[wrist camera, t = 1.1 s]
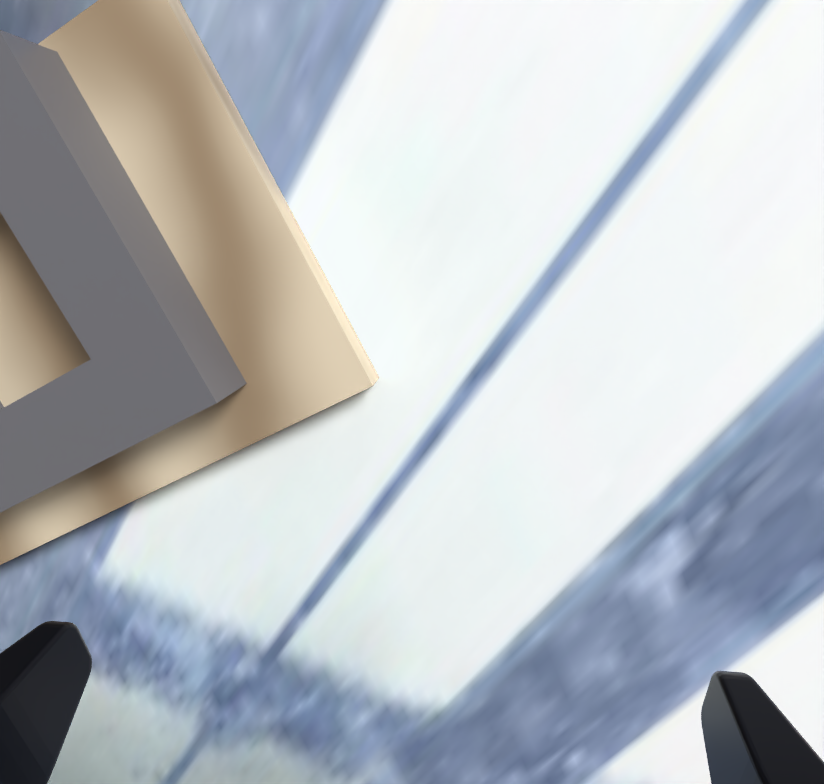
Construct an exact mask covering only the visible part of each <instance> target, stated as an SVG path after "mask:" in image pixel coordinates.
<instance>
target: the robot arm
mask: <svg viewBox="0 0 824 784" xmlns="http://www.w3.org/2000/svg"><path fill="white" fill-rule="evenodd" d="M91 668H92V658H91V654H90V652H89V650H88V648H87V646H86V644H85V642H84V640H83V638H82V636H81V634H80V632H79V630H78V628H77V626H76V625H75V624H73V623H70V622H57V621H49V622H45V623H43V624H41V625H39V626H38V627H36V628H35V629H33V630H32V631H31V632H29V633H28V634H27V635H25V636H24V637H22V638H21V639H20V640H18V641H17V642H16V643H14V644H13V645H11V646H10V647H9V648H7V649H6V650H4V651H3V652H2V653H0V784H47V782H48V780H49V778H50V775H51V773H52V771H53V768H54V766H55V763H56V761H57V758H58V756H59V753H60V751H61V748H62V746H63V743H64V740H65V738H66V735H67V733H68V730H69V727H70V725H71V722H72V720H73V717H74V714H75V712H76V709H77V707H78V704H79V701H80V699H81V696H82V694H83V691H84V688H85V686H86V683H87V681H88V678H89V675H90V672H91ZM701 720H702V729H703V735H704V741H705V747H706V753H707V759H708V765H709V771H710V777H711V783H712V784H824V762H823V761H822V759H821V758H820V757H819V756H818V755H817V754H816V752H815V751H814V750H813V749H812V748H811V746H810V745H809V744H808V743H807V742H806V741H805V739H804V738H803V737H802V736H801V735H800V733H799V732H798V731H797V730H796V729H795V728H794V726H793V725H792V724H791V723H790V722H789V720H788V719H787V718H786V717H785V716H784V715H783V713H782V712H781V711H780V710H779V709H778V707H777V706H776V705H775V704H774V703H773V702H772V700H771V699H770V698H769V697H768V696H767V694H766V693H765V692H764V691H763V690H762V689H761V687H760V686H759V685H758V684H757V683H756V681H755V680H754V679H753V678H752V677H750V676H749V675H747V674H745V673H740V672H727V671H717V672H715V673H714V674H713V675H712V677H711V680H710V684H709V687H708V690H707V693H706V696H705V699H704V702H703V706H702V712H701Z"/></svg>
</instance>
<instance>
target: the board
mask: <svg viewBox="0 0 824 784" xmlns="http://www.w3.org/2000/svg"><path fill="white" fill-rule="evenodd" d="M38 45H41V46H43V47H46V48H49V49H51V50H54V51H57V52H58V54H59V56H60V57H61V59H62V61H63V63H64V64H65V66H66V68H67V70H68V71H69V73H70V75H71V77H72V78H73V80H74V82H75V84H76V85H77V87H78V89H79V91H80V92H81V94H82V96H83V98H84V99H85V101H86V103H87V105H88V106H89V108H90V110H91V112H92V113H93V115H94V117H95V119H96V120H97V122H98V124H99V126H100V127H101V129H102V131H103V133H104V134H105V136H106V138H107V140H108V141H109V143H110V145H111V147H112V148H113V150H114V152H115V154H116V155H117V157H118V159H119V161H120V162H121V164H122V166H123V168H124V169H125V171H126V173H127V175H128V176H129V178H130V180H131V182H132V183H133V185H134V187H135V189H136V190H137V192H138V194H139V196H140V197H141V199H142V201H143V203H144V204H145V206H146V208H147V210H148V211H149V213H150V215H151V217H152V218H153V220H154V222H155V224H156V225H157V227H158V229H159V231H160V232H161V234H162V236H163V238H164V239H165V241H166V243H167V245H168V246H169V248H170V250H171V252H172V253H173V255H174V257H175V259H176V260H177V262H178V264H179V266H180V267H181V269H182V271H183V273H184V274H185V276H186V278H187V280H188V281H189V283H190V285H191V287H192V288H193V290H194V292H195V294H196V295H197V297H198V299H199V301H200V302H201V304H202V306H203V308H204V309H205V311H206V313H207V315H208V316H209V318H210V320H211V322H212V323H213V325H214V327H215V329H216V330H217V332H218V334H219V336H220V337H221V339H222V341H223V343H224V344H225V346H226V348H227V350H228V351H229V353H230V355H231V357H232V358H233V360H234V362H235V364H236V365H237V367H238V369H239V371H240V372H241V374H242V376H243V378H244V379H245V381H246V383H247V384H245V385H244V386H242V387H241V388H239V389H238V390H236V391H235V392H233V393H232V394H230V395H229V396H227V397H225V398H224V399H222V400H221V401H219V402H218V403H216V404H214V405H212V406H210V407H208V408H206V409H204V410H202V411H200V412H198V413H196V414H194V415H192V416H190V417H188V418H186V419H185V420H183V421H181V422H179V423H177V424H175V425H173V426H171V427H169V428H167V429H165V430H163V431H161V432H159V433H157V434H155V435H153V436H151V437H149V438H147V439H145V440H143V441H141V442H139V443H137V444H135V445H133V446H131V447H129V448H127V449H125V450H123V451H121V452H119V453H117V454H115V455H113V456H111V457H109V458H107V459H105V460H103V461H101V462H99V463H98V464H96V465H94V466H92V467H90V468H88V469H86V470H84V471H82V472H80V473H78V474H76V475H74V476H72V477H70V478H68V479H66V480H64V481H62V482H60V483H58V484H56V485H54V486H52V487H50V488H48V489H46V490H44V491H42V492H40V493H38V494H36V495H34V496H32V497H30V498H28V499H26V500H24V501H22V502H20V503H18V504H16V505H14V506H12V507H10V508H9V509H7V510H5V511H3V512H1V513H0V565H1V564H3V563H5V562H7V561H9V560H12V559H14V558H16V557H18V556H20V555H22V554H24V553H26V552H28V551H30V550H32V549H34V548H37V547H39V546H41V545H43V544H45V543H47V542H49V541H51V540H53V539H55V538H57V537H59V536H61V535H64V534H66V533H68V532H70V531H72V530H74V529H76V528H78V527H80V526H82V525H84V524H86V523H89V522H91V521H93V520H95V519H97V518H99V517H101V516H103V515H105V514H107V513H109V512H111V511H114V510H116V509H118V508H120V507H122V506H124V505H126V504H128V503H130V502H132V501H134V500H136V499H139V498H141V497H143V496H145V495H147V494H149V493H151V492H153V491H155V490H157V489H159V488H161V487H164V486H166V485H168V484H170V483H172V482H174V481H176V480H178V479H180V478H182V477H184V476H186V475H189V474H191V473H193V472H195V471H197V470H199V469H201V468H203V467H205V466H207V465H209V464H211V463H214V462H216V461H218V460H220V459H222V458H224V457H226V456H228V455H230V454H232V453H234V452H236V451H239V450H241V449H243V448H245V447H247V446H249V445H251V444H253V443H255V442H257V441H259V440H261V439H263V438H266V437H268V436H270V435H272V434H274V433H276V432H278V431H280V430H282V429H284V428H286V427H288V426H291V425H293V424H295V423H297V422H299V421H301V420H303V419H305V418H307V417H309V416H311V415H313V414H316V413H318V412H320V411H322V410H324V409H326V408H328V407H330V406H332V405H334V404H336V403H338V402H341V401H343V400H345V399H347V398H349V397H351V396H353V395H355V394H357V393H359V392H361V391H363V390H366V389H368V388H370V387H372V386H373V385H374V384H375V383H376V381H377V380H378V379H379V376H378V374H377V372H376V371H375V369H374V367H373V365H372V363H371V361H370V359H369V357H368V355H367V354H366V352H365V350H364V348H363V346H362V344H361V342H360V340H359V338H358V337H357V335H356V333H355V331H354V329H353V327H352V325H351V323H350V322H349V320H348V318H347V316H346V314H345V312H344V310H343V308H342V306H341V305H340V303H339V301H338V299H337V297H336V295H335V293H334V291H333V289H332V288H331V286H330V284H329V282H328V280H327V278H326V276H325V274H324V272H323V271H322V269H321V267H320V265H319V263H318V261H317V259H316V257H315V255H314V254H313V252H312V250H311V248H310V246H309V244H308V242H307V240H306V238H305V237H304V235H303V233H302V231H301V229H300V227H299V225H298V223H297V221H296V220H295V218H294V216H293V214H292V212H291V210H290V208H289V206H288V204H287V203H286V201H285V199H284V197H283V195H282V193H281V191H280V189H279V187H278V186H277V184H276V182H275V180H274V178H273V176H272V174H271V172H270V170H269V169H268V167H267V165H266V163H265V161H264V159H263V157H262V155H261V154H260V152H259V150H258V148H257V146H256V144H255V142H254V140H253V138H252V137H251V135H250V133H249V131H248V129H247V127H246V125H245V123H244V121H243V120H242V118H241V116H240V114H239V112H238V110H237V108H236V106H235V104H234V103H233V101H232V99H231V97H230V95H229V93H228V91H227V89H226V87H225V86H224V84H223V82H222V80H221V78H220V76H219V74H218V72H217V70H216V69H215V67H214V65H213V63H212V61H211V59H210V57H209V55H208V53H207V52H206V50H205V48H204V46H203V44H202V42H201V40H200V38H199V36H198V35H197V33H196V31H195V29H194V27H193V25H192V23H191V21H190V19H189V18H188V16H187V14H186V12H185V10H184V8H183V6H182V4H181V2H180V1H179V0H98V1H97V2H96V3H94V4H93V5H91V6H90V7H89V8H87V9H86V10H85V11H83V12H82V13H80V14H79V15H78V16H76V17H75V18H73V19H72V20H71V21H69V22H68V23H66V24H65V25H64V26H62V27H61V28H60V29H58V30H57V31H55V32H54V33H53V34H51V35H50V36H48V37H47V38H46V39H44V40H43V41H42V42H40V43H39V44H38ZM89 360H91V359H90V357H89V355H88V354H87V352H86V350H85V349H84V347H83V346H82V344H81V342H80V341H79V339H78V337H77V336H76V334H75V333H74V331H73V329H72V328H71V326H70V324H69V323H68V321H67V320H66V318H65V316H64V315H63V313H62V311H61V310H60V308H59V307H58V305H57V303H56V302H55V300H54V298H53V297H52V295H51V294H50V292H49V290H48V289H47V287H46V285H45V284H44V282H43V281H42V279H41V277H40V276H39V274H38V272H37V271H36V269H35V268H34V266H33V264H32V263H31V261H30V259H29V258H28V256H27V255H26V253H25V251H24V250H23V248H22V246H21V245H20V243H19V242H18V240H17V238H16V237H15V235H14V233H13V232H12V230H11V229H10V227H9V225H8V224H7V222H6V220H5V219H4V217H3V216H2V214H1V212H0V401H1V403H2V404H3V406H4V407H6V406H8V405H10V404H11V403H13V402H15V401H17V400H19V399H20V398H22V397H24V396H26V395H28V394H29V393H31V392H33V391H35V390H37V389H38V388H40V387H42V386H44V385H46V384H47V383H49V382H51V381H53V380H55V379H56V378H58V377H60V376H62V375H64V374H65V373H67V372H69V371H71V370H73V369H74V368H76V367H78V366H80V365H82V364H83V363H85V362H87V361H89Z"/></svg>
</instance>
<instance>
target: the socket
mask: <svg viewBox="0 0 824 784" xmlns="http://www.w3.org/2000/svg"><path fill="white" fill-rule="evenodd" d="M0 212H1V214H2V216H3V217H4V219H5V220H6V222H7V224H8V225H9V227H10V229H11V230H12V232H13V233H14V235H15V237H16V238H17V240H18V242H19V243H20V245H21V246H22V248H23V250H24V251H25V253H26V255H27V256H28V258H29V259H30V261H31V263H32V264H33V266H34V268H35V269H36V271H37V272H38V274H39V276H40V277H41V279H42V281H43V282H44V284H45V285H46V287H47V289H48V290H49V292H50V294H51V295H52V297H53V298H54V300H55V302H56V303H57V305H58V307H59V308H60V310H61V311H62V313H63V315H64V316H65V318H66V320H67V321H68V323H69V324H70V326H71V328H72V329H73V331H74V333H75V334H76V336H77V337H78V339H79V341H80V342H81V344H82V346H83V347H84V349H85V350H86V352H87V354H88V355H89V357H90V359H91V360H89V361H87V362H85V363H83V364H82V365H80V366H78V367H76V368H74V369H73V370H71V371H69V372H67V373H65V374H64V375H62V376H60V377H58V378H56V379H55V380H53V381H51V382H49V383H47V384H46V385H44V386H42V387H40V388H38V389H37V390H35V391H33V392H31V393H29V394H28V395H26V396H24V397H22V398H20V399H19V400H17V401H15V402H13V403H11V404H10V405H8V406H6V407H4V406H3V404H2V403H1V401H0V513H1V512H3V511H5V510H7V509H9V508H10V507H12V506H14V505H16V504H18V503H20V502H22V501H24V500H26V499H28V498H30V497H32V496H34V495H36V494H38V493H40V492H42V491H44V490H46V489H48V488H50V487H52V486H54V485H56V484H58V483H60V482H62V481H64V480H66V479H68V478H70V477H72V476H74V475H76V474H78V473H80V472H82V471H84V470H86V469H88V468H90V467H92V466H94V465H96V464H98V463H99V462H101V461H103V460H105V459H107V458H109V457H111V456H113V455H115V454H117V453H119V452H121V451H123V450H125V449H127V448H129V447H131V446H133V445H135V444H137V443H139V442H141V441H143V440H145V439H147V438H149V437H151V436H153V435H155V434H157V433H159V432H161V431H163V430H165V429H167V428H169V427H171V426H173V425H175V424H177V423H179V422H181V421H183V420H185V419H186V418H188V417H190V416H192V415H194V414H196V413H198V412H200V411H202V410H204V409H206V408H208V407H210V406H212V405H214V404H216V403H218V402H219V401H221V400H222V399H224V398H225V397H227V396H229V395H230V394H232V393H233V392H235V391H236V390H238V389H239V388H241V387H242V386H244V385H245V384H247V383H246V381H245V379H244V378H243V376H242V374H241V372H240V371H239V369H238V367H237V365H236V364H235V362H234V360H233V358H232V357H231V355H230V353H229V351H228V350H227V348H226V346H225V344H224V343H223V341H222V339H221V337H220V336H219V334H218V332H217V330H216V329H215V327H214V325H213V323H212V322H211V320H210V318H209V316H208V315H207V313H206V311H205V309H204V308H203V306H202V304H201V302H200V301H199V299H198V297H197V295H196V294H195V292H194V290H193V288H192V287H191V285H190V283H189V281H188V280H187V278H186V276H185V274H184V273H183V271H182V269H181V267H180V266H179V264H178V262H177V260H176V259H175V257H174V255H173V253H172V252H171V250H170V248H169V246H168V245H167V243H166V241H165V239H164V238H163V236H162V234H161V232H160V231H159V229H158V227H157V225H156V224H155V222H154V220H153V218H152V217H151V215H150V213H149V211H148V210H147V208H146V206H145V204H144V203H143V201H142V199H141V197H140V196H139V194H138V192H137V190H136V189H135V187H134V185H133V183H132V182H131V180H130V178H129V176H128V175H127V173H126V171H125V169H124V168H123V166H122V164H121V162H120V161H119V159H118V157H117V155H116V154H115V152H114V150H113V148H112V147H111V145H110V143H109V141H108V140H107V138H106V136H105V134H104V133H103V131H102V129H101V127H100V126H99V124H98V122H97V120H96V119H95V117H94V115H93V113H92V112H91V110H90V108H89V106H88V105H87V103H86V101H85V99H84V98H83V96H82V94H81V92H80V91H79V89H78V87H77V85H76V84H75V82H74V80H73V78H72V77H71V75H70V73H69V71H68V70H67V68H66V66H65V64H64V63H63V61H62V59H61V57H60V56H59V54H58V52H57V51H54V50H51V49H49V48H46V47H43V46H41V45H38V44H36V43H33V42H30V41H28V40H25V39H22V38H20V37H17V36H14V35H12V34H9V33H7V32H4V31H1V30H0Z"/></svg>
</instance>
